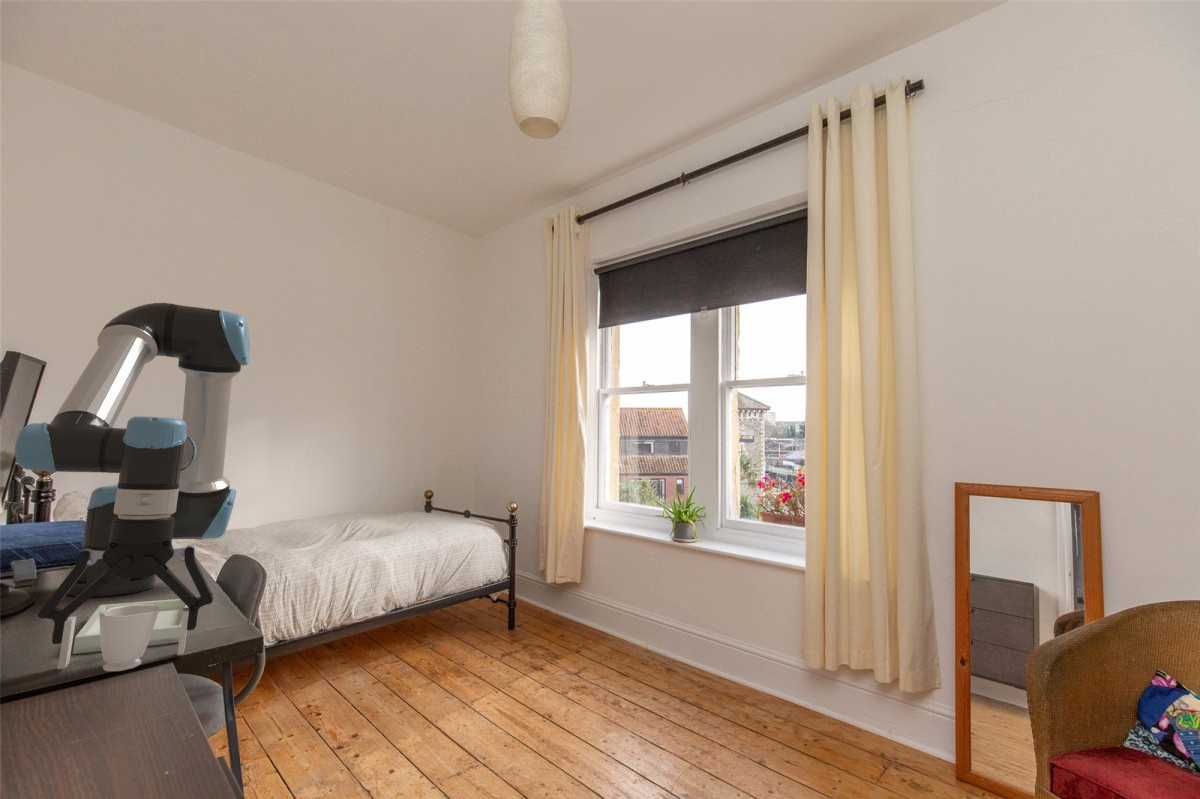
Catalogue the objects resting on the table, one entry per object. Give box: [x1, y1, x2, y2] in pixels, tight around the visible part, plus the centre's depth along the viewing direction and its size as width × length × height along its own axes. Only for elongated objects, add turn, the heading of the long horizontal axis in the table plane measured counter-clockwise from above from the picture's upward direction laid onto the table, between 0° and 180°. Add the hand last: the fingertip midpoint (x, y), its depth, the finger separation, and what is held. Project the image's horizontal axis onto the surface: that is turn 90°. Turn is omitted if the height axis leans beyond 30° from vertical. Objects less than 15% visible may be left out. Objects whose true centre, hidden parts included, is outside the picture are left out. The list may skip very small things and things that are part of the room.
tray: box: [72, 598, 189, 655], centre depth 97 cm, size 20×14×2 cm
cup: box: [99, 604, 159, 672], centre depth 83 cm, size 7×10×8 cm
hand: (124, 658), depth 83 cm, fingers open, 13 cm apart
